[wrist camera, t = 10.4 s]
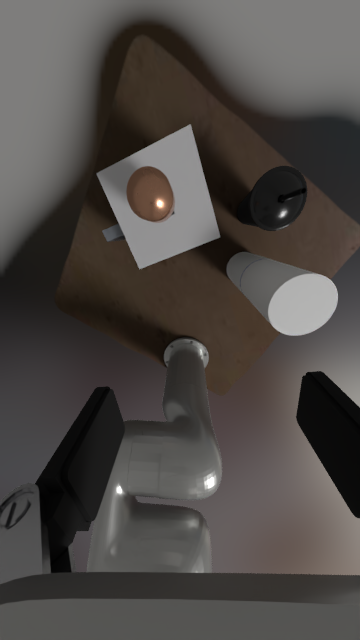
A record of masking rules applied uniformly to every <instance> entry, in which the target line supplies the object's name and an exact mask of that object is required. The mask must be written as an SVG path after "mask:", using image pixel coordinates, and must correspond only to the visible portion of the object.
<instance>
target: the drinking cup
mask: <svg viewBox="0 0 360 640" xmlns="http://www.w3.org/2000/svg"><path fill="white" fill-rule="evenodd" d="M306 198H307V185H306V182H305V179H304V177H303V175H302V174H301V173H300V172H299V171H298V170H296V169H295V168H293V167H289V166H279V167H276V168H273V169H271V170H269V171H268V172H266V173H265V174H264V175H263V176H262V177H261V178H260V179H259V180H258V181H257V182H256V184H255V186H254V187H253V189H252V191H251V192H250V193H249V194H248V195H247V196H246V198H245V199H244V200H243V201H242V202H241V203H240V205H239V207H238V211H237V215H238V219H239V220H240V221H241V222H242V223H243V224H247V225H252V226H257V227H259V228H261V229H263V230H267V231H276V230H280V229H283V228H285V227H287V226H289V225H290V224H291V223H292V222H294V221H295V220H296V218H297V217H298V216H299V215H300V213H301V211H302V210H303V207H304V205H305V202H306Z"/></svg>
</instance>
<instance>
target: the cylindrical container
mask: <svg viewBox="0 0 360 640" xmlns="http://www.w3.org/2000/svg"><path fill="white" fill-rule="evenodd" d="M226 271H227V275H228V277H229V279H230V280H231V281H232V282H233V283H234V284H235V285H236V286H237V287H238V289H239V290H240V291H241V292H242V293H243V294H244V295H245V296H246V297H247V298H248V300H249V301H250V302H251V303H252V304H253V305H254V306H255V307H256V308H257V309H258V311H259V312H260V313H261V314H262V315H263V316H264V317H265V318H266V319H267V320H268V321H269V323H270V324H271V325H272V326H273V327H274V328H275V329H276V330H278V331H279V332H281V333H283V334H286V335H303V334H307V333H310V332H312V331H314V330H316V329H318V328H319V327H321V326H322V325H323V324H324V323H325V322H327V321H328V320H329V318H330V317H331V316H332V314H333V312H334V311H335V309H336V305H337V301H338V293H337V289H336V287H335V285H334V284H333V282H332V281H331V280H330V279H328V278H327V277H325V276H322V275H320V274H317V273H313V272H310V271H307V270H304V269H300V268H297V267H294V266H291V265H288V264H284V263H281V262H278V261H275V260H272V259H268V258H265V257H262V256H259V255H255V254H252V253H249V252H240V253H237V254H235V255H234V256H233V257H232V258H231V259H230V260H229V262H228V264H227V270H226Z"/></svg>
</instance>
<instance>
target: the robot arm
mask: <svg viewBox="0 0 360 640" xmlns="http://www.w3.org/2000/svg"><path fill="white" fill-rule="evenodd" d="M208 360H209V356H208V351H207V349H206V347H205V346H204V345H203V344H202V343H201V342H200V341H198V340H196V339H193V338H187V337H186V338H179V339H176V340H174V341H172V342H171V343H170V344H169V345H168V346H167V347H166V349H165V353H164V361H165V364H166V366H167V367H168V369H167V375H166V382H165V388H164V395H163V401H162V408H163V413H164V416H165V418H166V420H167V421H166V422H160V421H144V420H127V421H124V422H123V419H122V416H121V413H120V410H119V407H118V404H117V401H116V398H115V395H114V392H113V390H112V389H110V388H109V387H97V388H96V389H95V390H94V392H93V393H92V395H91V396H90V398H89V400H88V401H87V403H86V404H85V406H84V407H83V409H82V411H81V412H80V414H79V416H78V417H77V419H76V420H75V421H74V423H73V425H72V426H71V428H70V429H69V431H68V432H67V434H66V436H65V437H64V439H63V440H62V442H61V444H60V445H59V447H58V448H57V450H56V451H55V453H54V455H53V456H52V458H51V459H50V461H49V462H48V464H47V466H46V467H45V469H44V470H43V472H42V474H41V475H40V477H39V478H38V480H37V481H36V483H35V484H32V483H28V484H24V485H21V486H20V487H17V488H16V489H14V490H13V491H11V492H10V493H9V494H7V495H6V496H5V497H4V498H3V499H2V500H1V501H0V640H360V576H359V575H310V574H309V575H307V574H254V573H253V574H252V573H212V553H211V538H210V532H209V527H208V524H207V521H206V519H205V518H204V516H203V515H202V514H201V513H200V512H199V511H197V510H195V509H193V508H188V507H183V506H176V505H165V504H151V503H141V502H138V501H137V499H136V497H135V496H143V497H157V498H162V499H175V500H199V499H204V498H207V497H209V496H211V495H212V494H213V493H214V492H215V491H216V490H217V489H218V487H219V485H220V482H221V478H222V460H221V454H220V450H219V446H218V442H217V439H216V436H215V433H214V430H213V426H212V422H211V417H210V410H209V403H208V396H207V395H208V394H207V386H206V378H205V369H204V368H205V367H206V365H207V364H208ZM296 418H297V422H298V424H299V426H300V428H301V429H302V431H303V433H304V434H305V436H306V438H307V439H308V441H309V443H310V444H311V446H312V448H313V449H314V451H315V453H316V454H317V456H318V458H319V459H320V461H321V463H322V464H323V466H324V468H325V469H326V471H327V472H328V474H329V476H330V477H331V479H332V481H333V482H334V484H335V486H336V487H337V489H338V491H339V492H340V494H341V495H342V497H343V499H344V501H345V502H346V504H347V506H348V507H349V509H350V510H351V512H352V513H353V515H354V516H355V517H357V518H360V408H359V406H357V405H356V404H355V403H354V402H353V401H352V400H351V399H350V398H349V397H348V396H347V395H346V394H345V393H344V392H343V391H342V390H341V389H340V388H339V387H338V386H337V385H336V384H335V383H334V382H333V381H332V380H330V379H329V378H328V377H327V376H326V375H325V374H324V373H323V372H321V371H319V372H318V371H317V372H307V373H306V375H305V376H303V377H302V384H301V390H300V397H299V403H298V409H297V416H296ZM93 520H95V521H94V527H93V533H92V538H91V544H90V550H89V557H88V564H87V572H76V567H75V560H74V554H73V547H72V542H73V539H74V537H75V534H76V531H88V530H89V527H90V524H91V521H93Z"/></svg>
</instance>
